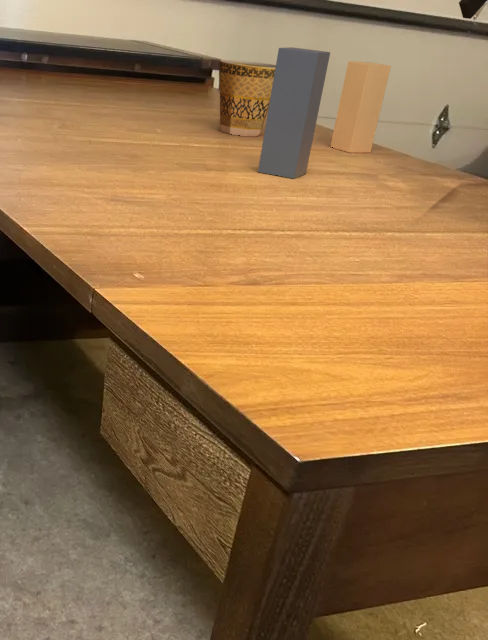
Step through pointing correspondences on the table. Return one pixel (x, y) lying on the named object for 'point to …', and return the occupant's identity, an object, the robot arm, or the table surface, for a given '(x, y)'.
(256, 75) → the ceramic cup
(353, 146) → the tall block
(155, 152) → the table surface
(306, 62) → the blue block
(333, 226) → the table surface
